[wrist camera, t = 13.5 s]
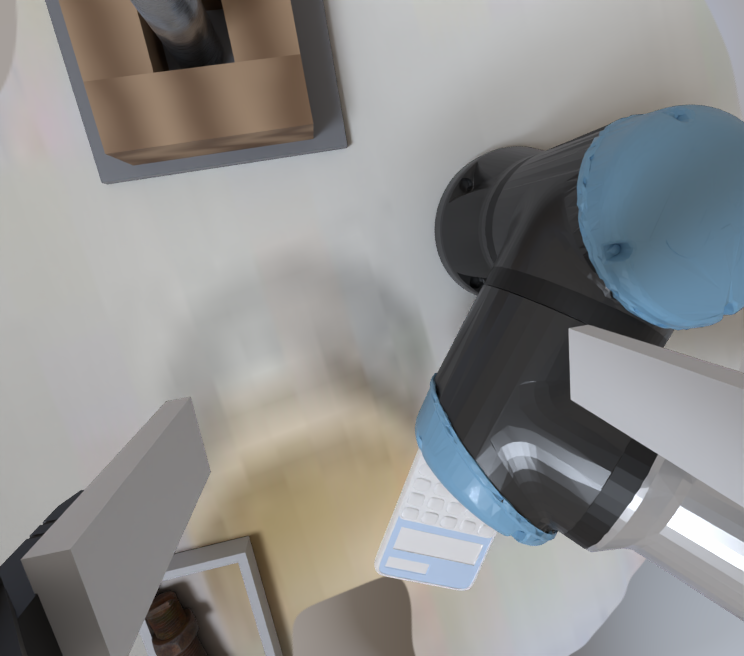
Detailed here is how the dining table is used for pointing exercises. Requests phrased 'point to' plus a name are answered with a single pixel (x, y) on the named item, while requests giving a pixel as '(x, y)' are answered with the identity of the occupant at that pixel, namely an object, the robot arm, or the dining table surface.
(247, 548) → the parts tray
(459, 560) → the calculator
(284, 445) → the dining table surface
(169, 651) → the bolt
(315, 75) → the socket
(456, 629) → the dining table surface
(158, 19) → the peg
